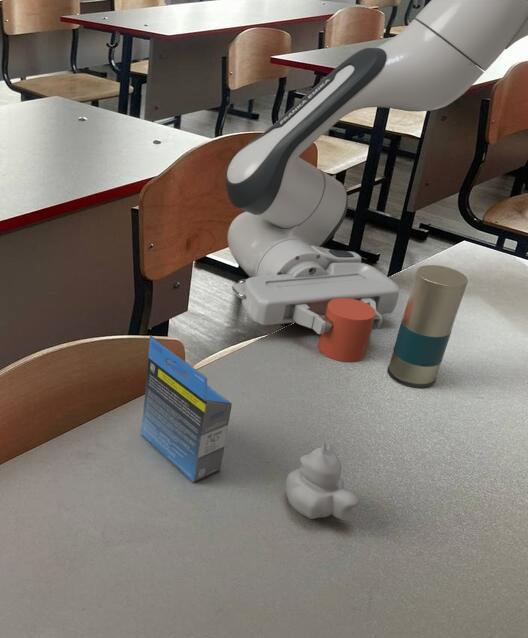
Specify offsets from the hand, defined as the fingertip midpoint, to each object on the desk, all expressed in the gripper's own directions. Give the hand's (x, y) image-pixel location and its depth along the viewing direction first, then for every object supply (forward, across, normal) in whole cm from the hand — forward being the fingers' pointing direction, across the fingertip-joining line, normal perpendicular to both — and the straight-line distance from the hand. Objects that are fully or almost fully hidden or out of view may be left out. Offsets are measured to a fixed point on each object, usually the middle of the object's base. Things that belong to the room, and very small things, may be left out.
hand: (352, 326), depth 93 cm
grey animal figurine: (+25, -18, +4) cm, 31 cm away
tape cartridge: (+14, -28, +4) cm, 31 cm away
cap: (-1, 0, +4) cm, 4 cm away
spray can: (+6, +5, +4) cm, 9 cm away
